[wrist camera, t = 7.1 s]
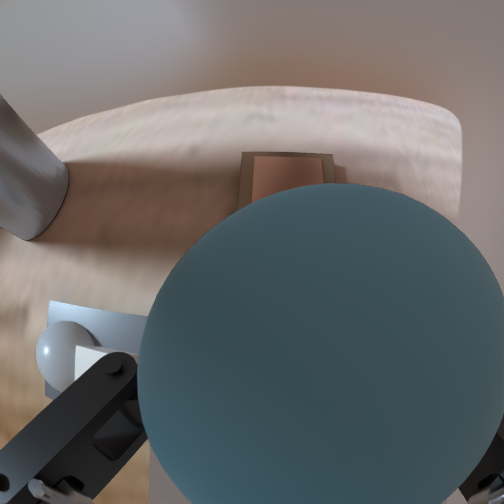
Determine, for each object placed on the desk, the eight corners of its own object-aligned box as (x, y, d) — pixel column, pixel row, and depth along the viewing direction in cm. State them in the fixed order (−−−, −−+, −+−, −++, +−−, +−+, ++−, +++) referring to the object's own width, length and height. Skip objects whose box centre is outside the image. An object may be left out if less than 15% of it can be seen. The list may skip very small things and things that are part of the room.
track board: (227, 390, 15) (224, 394, 14) (243, 161, 21) (241, 150, 19) (335, 392, 15) (340, 396, 14) (329, 163, 20) (332, 152, 19)
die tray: (66, 393, 17) (19, 398, 12) (70, 305, 20) (23, 292, 14) (166, 424, 16) (129, 450, 11) (171, 321, 19) (132, 311, 13)
